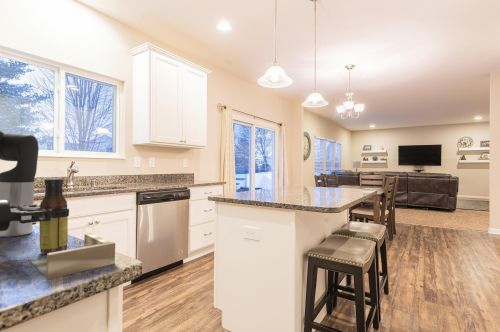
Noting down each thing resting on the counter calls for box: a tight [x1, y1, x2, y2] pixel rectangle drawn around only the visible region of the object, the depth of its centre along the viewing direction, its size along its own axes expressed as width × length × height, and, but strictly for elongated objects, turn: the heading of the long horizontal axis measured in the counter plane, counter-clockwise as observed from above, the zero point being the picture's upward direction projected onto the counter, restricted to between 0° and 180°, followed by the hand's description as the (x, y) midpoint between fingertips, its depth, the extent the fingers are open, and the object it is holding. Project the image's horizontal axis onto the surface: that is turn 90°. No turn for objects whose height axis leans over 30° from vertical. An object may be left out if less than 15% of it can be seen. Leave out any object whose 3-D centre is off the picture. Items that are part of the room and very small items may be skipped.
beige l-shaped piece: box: [30, 232, 116, 280], centre depth 67 cm, size 14×14×5 cm
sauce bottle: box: [39, 177, 69, 255], centre depth 75 cm, size 7×6×20 cm
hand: (63, 210), depth 76 cm, fingers open, 7 cm apart
